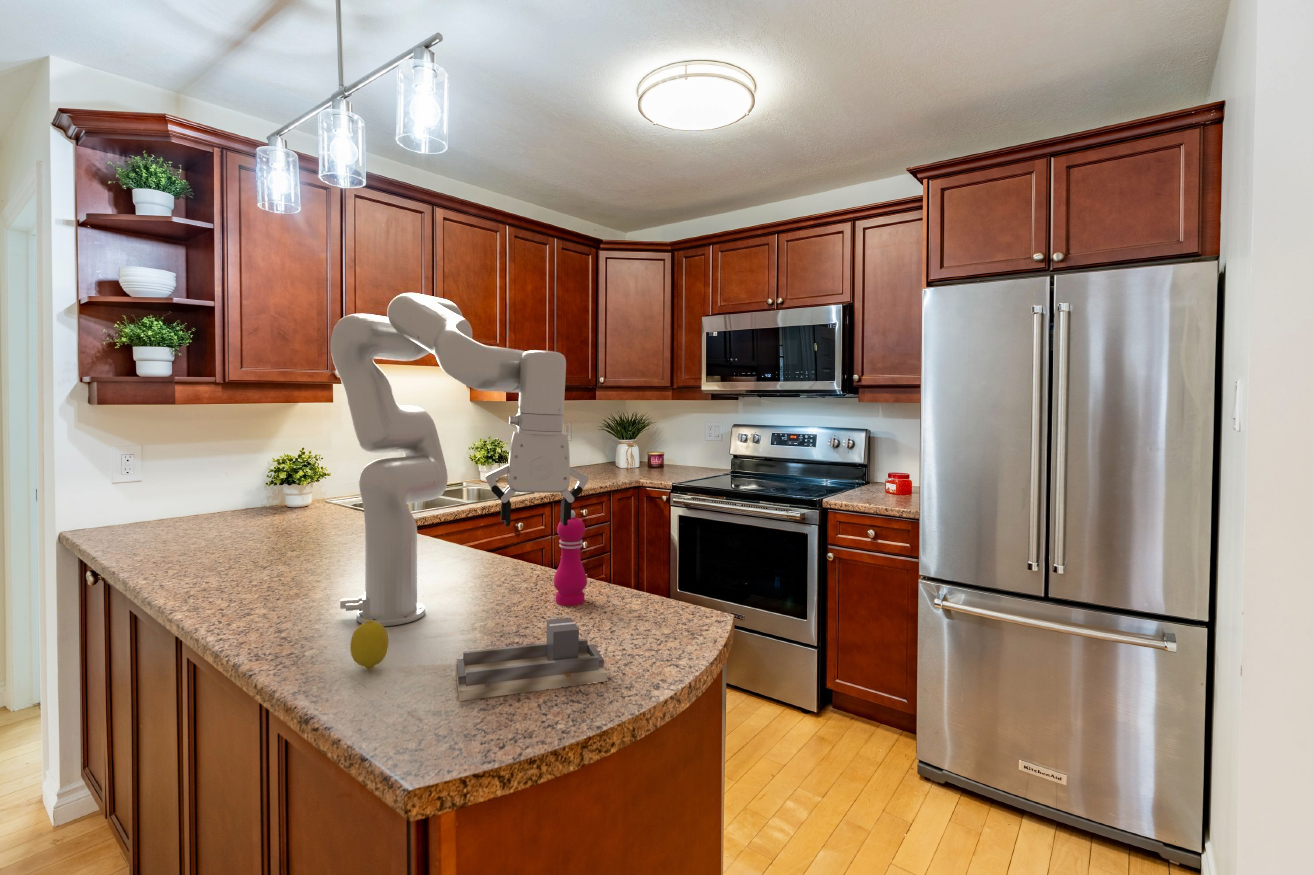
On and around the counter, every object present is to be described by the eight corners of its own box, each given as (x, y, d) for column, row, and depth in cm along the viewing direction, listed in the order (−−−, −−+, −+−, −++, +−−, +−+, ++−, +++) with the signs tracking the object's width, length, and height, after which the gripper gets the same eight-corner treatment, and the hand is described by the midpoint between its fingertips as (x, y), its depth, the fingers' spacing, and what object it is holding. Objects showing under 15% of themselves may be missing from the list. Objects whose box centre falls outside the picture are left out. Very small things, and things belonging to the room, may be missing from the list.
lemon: (358, 662, 105) (358, 614, 105) (393, 662, 105) (393, 614, 105) (344, 676, 99) (344, 626, 99) (381, 676, 100) (381, 625, 100)
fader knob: (552, 669, 99) (553, 631, 99) (546, 655, 105) (546, 619, 104) (578, 666, 101) (579, 628, 100) (570, 653, 106) (571, 616, 106)
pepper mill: (580, 607, 135) (582, 513, 134) (548, 605, 137) (549, 512, 136) (590, 597, 143) (592, 508, 142) (560, 595, 144) (561, 506, 143)
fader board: (459, 700, 92) (459, 677, 92) (456, 670, 103) (456, 649, 102) (607, 681, 100) (607, 659, 100) (590, 655, 110) (590, 635, 110)
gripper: (489, 423, 102) (485, 529, 103) (595, 428, 108) (590, 528, 109) (486, 420, 109) (482, 520, 110) (586, 425, 115) (581, 519, 116)
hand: (535, 524), depth 110 cm, fingers open, 9 cm apart
